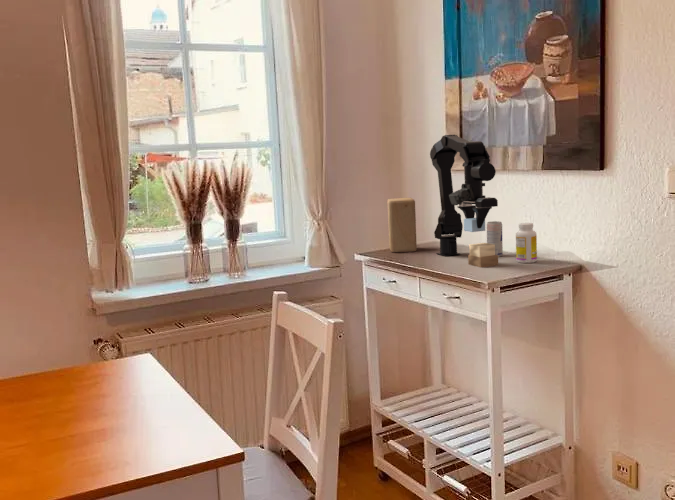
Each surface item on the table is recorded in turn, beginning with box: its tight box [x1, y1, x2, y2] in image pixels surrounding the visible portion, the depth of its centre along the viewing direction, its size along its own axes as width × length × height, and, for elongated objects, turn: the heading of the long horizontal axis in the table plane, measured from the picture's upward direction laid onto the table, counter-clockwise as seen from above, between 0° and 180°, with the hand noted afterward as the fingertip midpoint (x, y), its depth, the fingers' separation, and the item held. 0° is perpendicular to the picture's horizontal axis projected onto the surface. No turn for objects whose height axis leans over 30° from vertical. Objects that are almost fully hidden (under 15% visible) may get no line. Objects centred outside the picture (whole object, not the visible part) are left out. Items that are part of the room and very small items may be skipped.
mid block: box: [468, 242, 495, 257], centre depth 227 cm, size 6×6×4 cm
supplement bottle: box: [515, 222, 538, 264], centre depth 227 cm, size 7×7×13 cm
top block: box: [463, 217, 486, 233], centre depth 226 cm, size 5×5×4 cm
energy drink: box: [486, 220, 504, 258], centre depth 241 cm, size 5×5×12 cm
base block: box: [467, 254, 499, 268], centre depth 227 cm, size 7×7×4 cm
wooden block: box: [386, 197, 418, 253], centre depth 263 cm, size 10×10×20 cm
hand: (474, 227), depth 226 cm, fingers closed on top block, 5 cm apart
